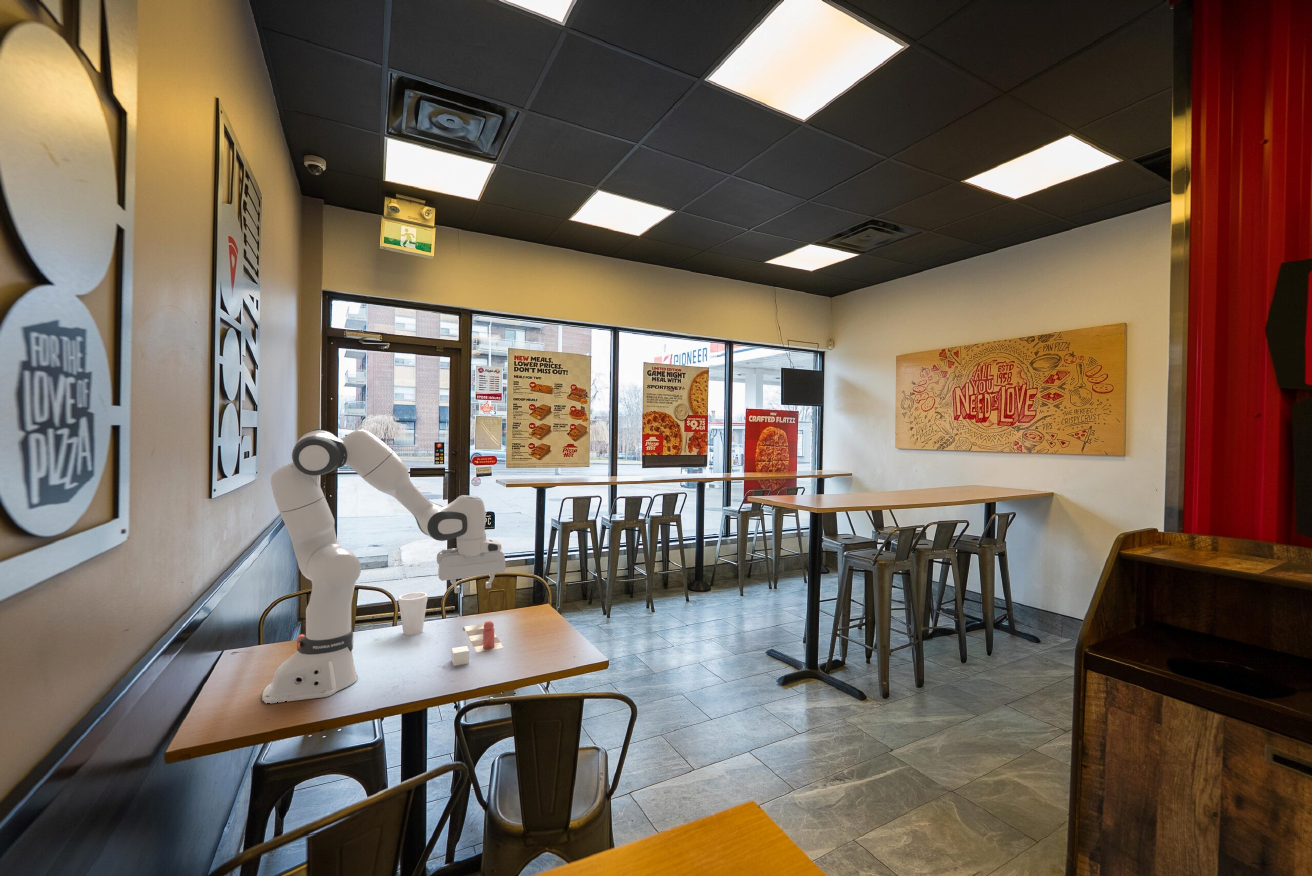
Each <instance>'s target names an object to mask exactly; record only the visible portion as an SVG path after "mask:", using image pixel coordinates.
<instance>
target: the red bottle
mask: <svg viewBox="0 0 1312 876" xmlns="http://www.w3.org/2000/svg"><path fill="white" fill-rule="evenodd" d="M483 624H484V629H483V639H482V640H483V649H492V648H494V638H495V637H494V633H495V626H494V624H495V623H494V622H493V621H491V620H487V621H485V622H484V623H483Z"/></svg>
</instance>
